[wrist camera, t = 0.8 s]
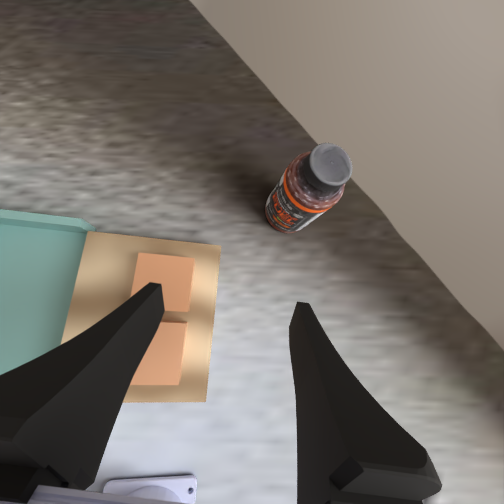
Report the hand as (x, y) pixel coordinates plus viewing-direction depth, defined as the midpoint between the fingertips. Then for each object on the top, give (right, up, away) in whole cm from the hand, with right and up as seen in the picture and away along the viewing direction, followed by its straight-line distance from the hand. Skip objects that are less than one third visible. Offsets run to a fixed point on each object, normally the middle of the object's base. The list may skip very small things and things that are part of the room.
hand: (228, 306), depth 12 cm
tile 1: (-7, 0, +10) cm, 12 cm away
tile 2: (-7, -6, +8) cm, 13 cm away
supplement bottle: (+6, +8, +18) cm, 20 cm away
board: (-9, -4, +12) cm, 16 cm away
